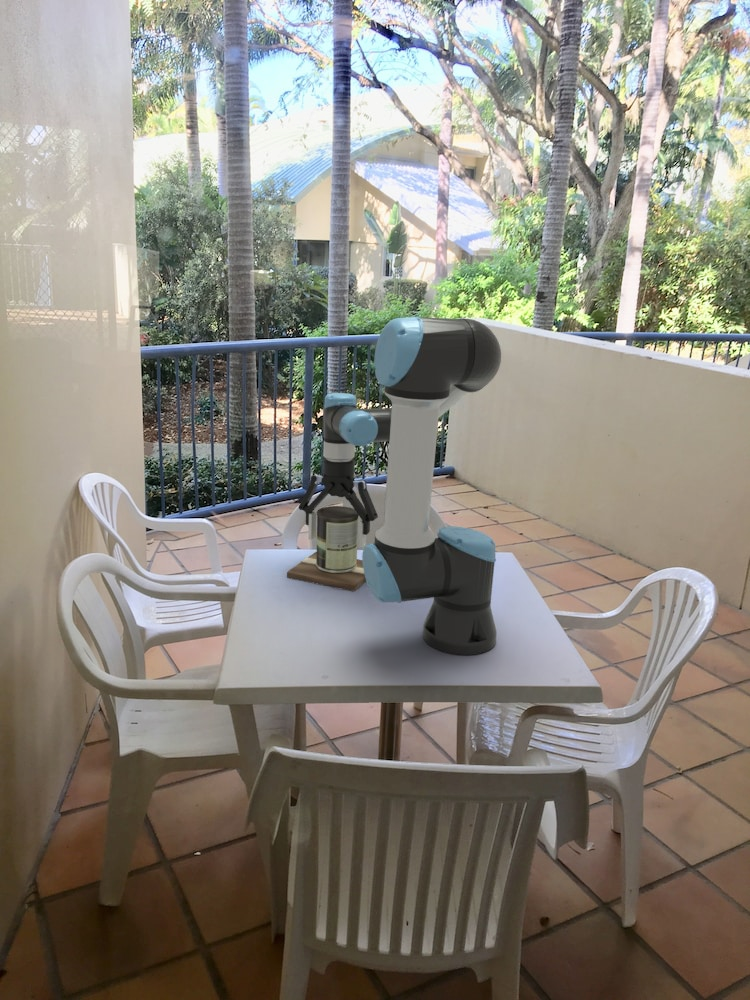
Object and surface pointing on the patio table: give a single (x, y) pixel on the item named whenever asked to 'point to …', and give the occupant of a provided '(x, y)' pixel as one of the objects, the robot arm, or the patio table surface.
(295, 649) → the patio table surface
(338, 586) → the board
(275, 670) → the patio table surface
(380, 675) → the patio table surface
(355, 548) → the coffee can
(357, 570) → the strip
